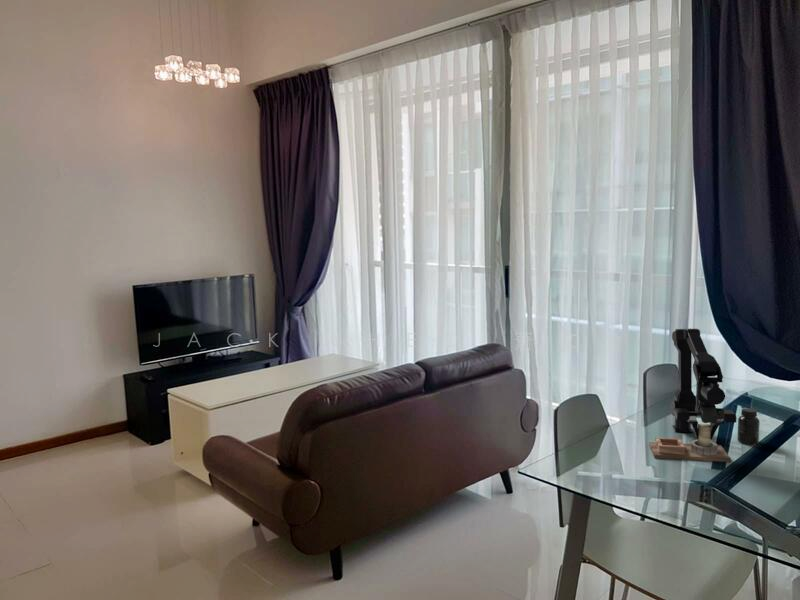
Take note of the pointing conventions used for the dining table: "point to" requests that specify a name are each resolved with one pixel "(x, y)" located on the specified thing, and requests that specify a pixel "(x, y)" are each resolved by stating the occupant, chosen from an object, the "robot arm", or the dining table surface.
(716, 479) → the dining table surface
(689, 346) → the robot arm
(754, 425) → the supplement bottle
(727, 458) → the socket board
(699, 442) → the round peg
